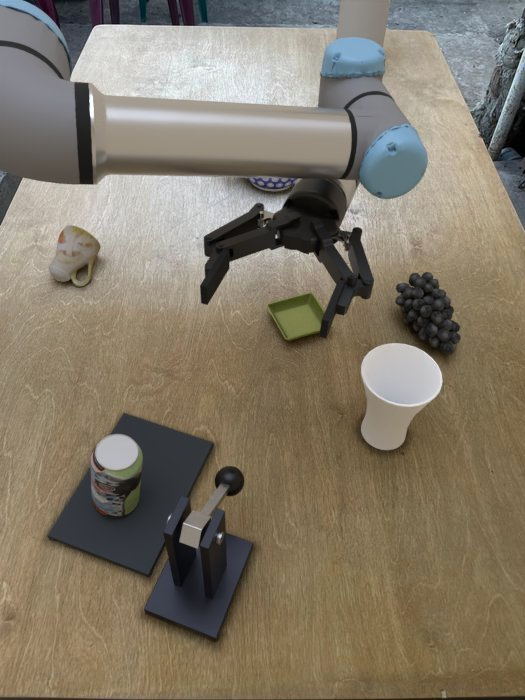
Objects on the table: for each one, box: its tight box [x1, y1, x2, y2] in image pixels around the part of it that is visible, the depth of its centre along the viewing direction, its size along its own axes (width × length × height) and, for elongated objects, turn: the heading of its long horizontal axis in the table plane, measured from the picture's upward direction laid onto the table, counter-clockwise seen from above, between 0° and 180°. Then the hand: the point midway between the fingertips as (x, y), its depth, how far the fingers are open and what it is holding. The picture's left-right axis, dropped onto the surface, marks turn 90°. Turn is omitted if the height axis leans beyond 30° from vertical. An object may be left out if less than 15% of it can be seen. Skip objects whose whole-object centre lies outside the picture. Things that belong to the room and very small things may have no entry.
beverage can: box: [90, 434, 143, 518], centre depth 77 cm, size 6×7×12 cm
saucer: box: [265, 291, 335, 342], centre depth 103 cm, size 9×9×2 cm
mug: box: [48, 224, 102, 287], centre depth 109 cm, size 8×10×10 cm
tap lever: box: [179, 465, 245, 549], centre depth 70 cm, size 14×4×4 cm
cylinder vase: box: [335, 0, 392, 49], centre depth 158 cm, size 12×12×25 cm
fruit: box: [394, 271, 461, 356], centre depth 101 cm, size 9×8×15 cm
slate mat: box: [46, 412, 214, 578], centre depth 83 cm, size 14×20×1 cm
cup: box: [360, 342, 443, 451], centre depth 85 cm, size 10×10×14 cm
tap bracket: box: [143, 495, 254, 643], centre depth 70 cm, size 12×9×16 cm
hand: (262, 312), depth 66 cm, fingers open, 13 cm apart
